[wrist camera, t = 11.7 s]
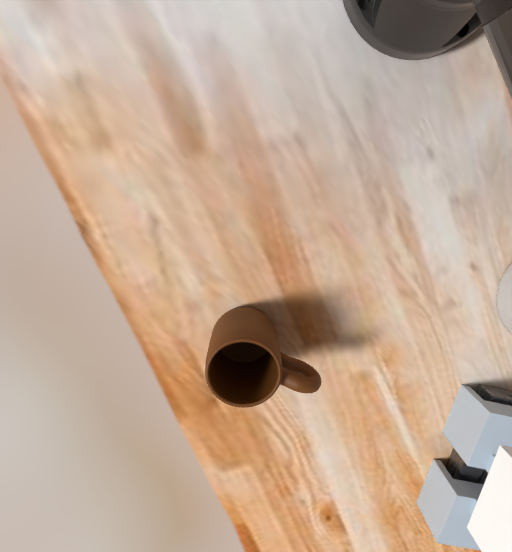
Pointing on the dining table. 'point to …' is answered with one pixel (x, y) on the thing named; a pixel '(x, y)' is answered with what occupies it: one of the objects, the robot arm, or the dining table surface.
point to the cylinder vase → (505, 299)
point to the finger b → (478, 428)
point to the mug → (252, 361)
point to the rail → (455, 462)
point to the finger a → (449, 506)
